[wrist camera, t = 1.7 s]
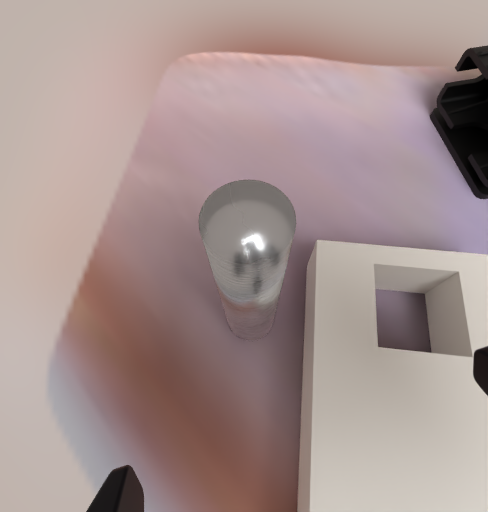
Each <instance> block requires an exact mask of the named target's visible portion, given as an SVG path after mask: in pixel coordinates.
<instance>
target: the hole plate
mask: <svg viewBox="0 0 488 512" xmlns="http://www.w3.org/2000/svg"><path fill="white" fill-rule="evenodd" d="M375 289H381V290H392V291H402V292H412V293H422V294H425V300H426V309H427V317H428V326H429V335H430V344H431V353H428V352H419V351H410V350H400V349H391V348H382V347H378V337H377V317H376V297H375ZM486 346H488V255H485V254H474V253H462V252H451V251H440V250H428V249H417V248H406V247H394V246H383V245H371V244H360V243H349V242H337V241H326V240H317V241H316V243H315V246H314V249H313V251H312V254H311V257H310V259H309V262H308V264H307V277H306V302H305V327H304V352H303V378H302V403H301V428H300V454H299V479H298V504H297V512H488V396H487V395H486V394H485V392H484V391H483V390H482V389H481V388H480V387H479V385H478V384H477V383H476V381H475V379H474V377H473V357H474V352H475V350H477V349H480V348H483V347H486Z"/></svg>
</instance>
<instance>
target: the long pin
mask: <svg viewBox="0 0 488 512" xmlns="http://www.w3.org/2000/svg"><path fill="white" fill-rule="evenodd" d="M295 228H296V215H295V211H294V208H293V206H292V204H291V202H290V200H289V199H288V198H287V197H286V195H285V194H284V193H283V192H281V191H280V190H279V189H277V188H276V187H274V186H272V185H270V184H268V183H265V182H261V181H256V180H239V181H234V182H231V183H228V184H226V185H224V186H222V187H220V188H218V189H217V190H216V191H214V192H213V193H212V194H211V195H210V196H209V197H208V198H207V200H206V201H205V203H204V204H203V206H202V209H201V212H200V215H199V229H200V234H201V237H202V240H203V243H204V246H205V250H206V253H207V256H208V259H209V263H210V266H211V269H212V272H213V275H214V279H215V282H216V285H217V288H218V292H219V295H220V298H221V301H222V304H223V308H224V311H225V314H226V317H227V321H228V324H229V327H230V329H231V330H232V332H233V333H234V334H235V335H236V336H238V337H239V338H241V339H244V340H248V341H253V340H258V339H261V338H262V337H264V336H265V335H266V334H268V332H269V331H270V329H271V328H272V325H273V322H274V317H275V313H276V309H277V305H278V300H279V296H280V292H281V288H282V284H283V279H284V275H285V271H286V267H287V262H288V258H289V254H290V250H291V246H292V241H293V237H294V233H295Z"/></svg>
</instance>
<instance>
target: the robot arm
mask: <svg viewBox="0 0 488 512" xmlns="http://www.w3.org/2000/svg"><path fill="white" fill-rule="evenodd" d="M473 377H474V379H475V381H476V383H477V384H478V385H479V387H480V388H481V389H482V390H483V391H484V392H485V394H486V395H487V396H488V346H486V347H483V348H480V349H477V350H475V352H474V357H473ZM86 512H144V494H143V489H142V486H141V484H140V482H139V480H138V478H137V476H136V474H135V472H134V470H133V468H132V467H131V466H130V465H126V466H123V467H120V468H116V469H114V470H112V471H111V472H110V474H109V475H108V477H107V479H106V480H105V482H104V483H103V485H102V487H101V488H100V490H99V492H98V493H97V495H96V497H95V498H94V500H93V502H92V503H91V505H90V506H89V508H88V510H87V511H86Z"/></svg>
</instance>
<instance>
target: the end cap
mask: <svg viewBox="0 0 488 512" xmlns="http://www.w3.org/2000/svg"><path fill="white" fill-rule="evenodd" d="M477 68H478V69H479V70H480V72H481V73H482V75H481V76H479V77H477V78H475V79H470V80H463V81H457V82H451V83H446V84H445V86H444V87H443V89H442V91H441V92H440V94H439V96H438V98H437V107H438V108H435V109H434V110H433V112H432V113H431V115H430V118H431V120H432V122H433V124H434V126H435V127H436V129H437V131H438V133H439V134H440V136H441V138H442V140H443V141H444V143H445V145H446V147H447V148H448V150H449V152H450V153H451V155H452V157H453V159H454V160H455V162H456V164H457V166H458V167H459V169H460V171H461V173H462V174H463V176H464V178H465V180H466V181H467V183H468V185H469V187H470V188H471V190H472V192H473V194H474V195H475V196H476V197H478V198H480V199H488V46H482V47H476V48H470V49H467V50H466V51H465V52H464V54H463V55H462V57H461V59H460V61H459V62H458V64H457V66H456V67H455V69H456V70H457V72H458V71H464V70H470V69H477Z"/></svg>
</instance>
